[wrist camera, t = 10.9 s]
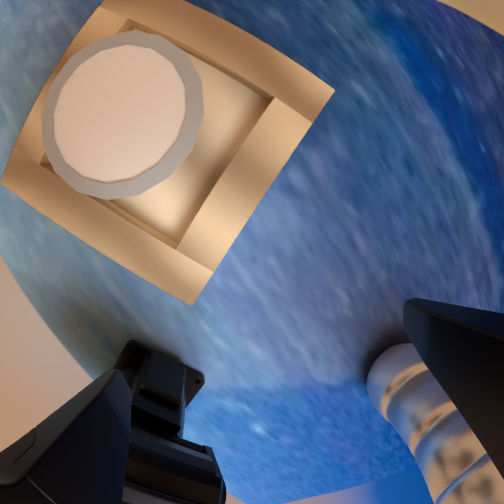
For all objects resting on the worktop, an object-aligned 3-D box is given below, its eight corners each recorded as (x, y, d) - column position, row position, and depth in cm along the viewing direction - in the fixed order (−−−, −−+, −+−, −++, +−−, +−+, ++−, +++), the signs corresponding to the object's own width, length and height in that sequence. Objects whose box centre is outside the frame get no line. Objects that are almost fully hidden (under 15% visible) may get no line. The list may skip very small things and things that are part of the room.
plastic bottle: (409, 319, 23) (574, 487, 4) (428, 365, 25) (551, 509, 6) (346, 365, 24) (467, 575, 5) (374, 405, 26) (470, 572, 7)
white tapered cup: (223, 165, 18) (227, 166, 11) (115, 202, 18) (63, 224, 11) (192, 59, 16) (180, 7, 9) (86, 99, 16) (28, 74, 9)
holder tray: (194, 290, 21) (191, 306, 18) (19, 179, 17) (0, 182, 15) (321, 98, 18) (335, 90, 16) (132, -6, 15) (124, -23, 12)
